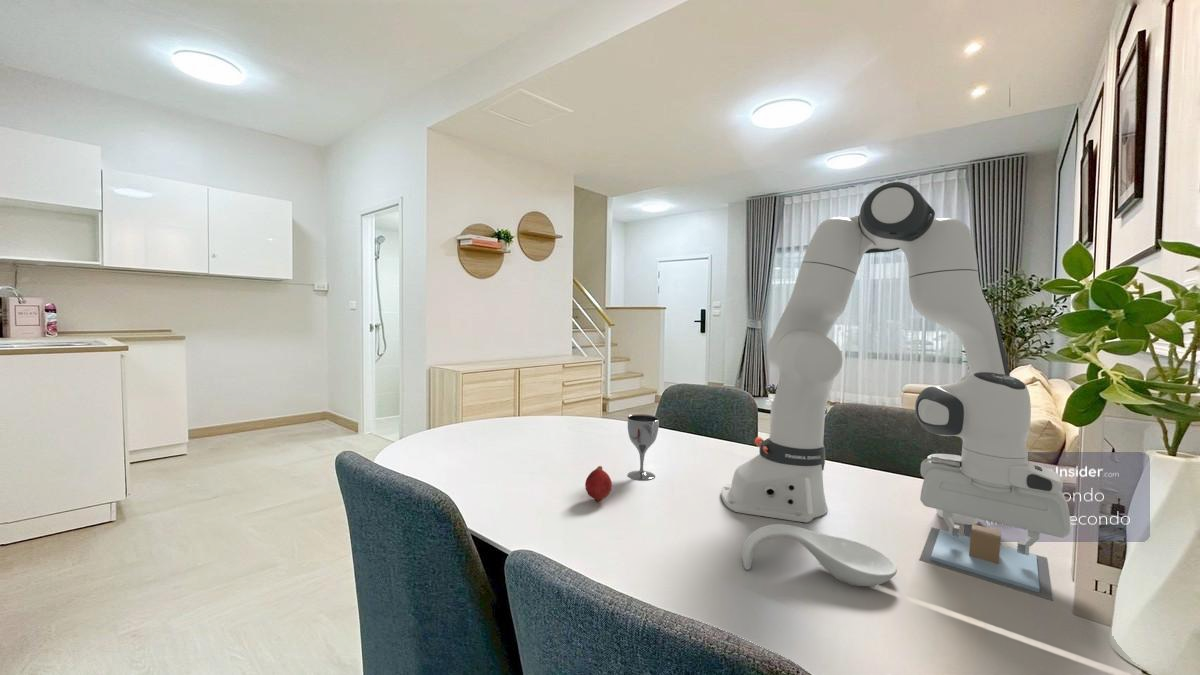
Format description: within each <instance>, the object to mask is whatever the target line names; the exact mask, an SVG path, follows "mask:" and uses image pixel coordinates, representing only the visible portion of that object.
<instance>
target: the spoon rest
mask: <svg viewBox="0 0 1200 675" xmlns="http://www.w3.org/2000/svg"><path fill="white" fill-rule="evenodd" d="M782 537H783V538H789V539H791V540H795V541H796V542H798V543H799V544H801V545H802V546H803V547H805V549H807V551H809V553H810V554H812V556H813V557H814V558H815V559H816V560H817V561H818V562H819V563H820V565H821V566H822V567H824V569H825V570H826V571H827V572H829V573H830V575H831V576H833V578H835V579H836V578H837V580H838V579H839V580H838V581H840V580H841V581H840V582H842V581H844V582H846V583H845V584H847V583H849V584H848V585H850V584H853V585H852V586H855V585H859V586H858V587H874V586H878V585H882V584H885V583H887V582H888V581H890V580H891V579H893V578H894V577H895V576H896V574H897V572H898V568H897V565H896V563H894V561H893V560H892V559H891V558H890V557H889V556H887V555H886V554H884V553H883V552H882V551H880V550H878V549H876V548H874V547H871V546H869V545H867V544H864V543H861V542H858V541H855V540H852V539H848V538H844V537H839V536H836V535H835V536H834V535H830V534H825V533H822V532H818V531H814V530H810V529H808V528H803V527H800V526H797V525H796V526H795V525H791V524H784V523H777V524H776V523H774V524H768V525H765V526H761V527H758V528H757V529H755V530H754V531H752V532H751V533H750V534H749V535H748V536H747V538H746V539H745V541H744V543H743V546H742V549H741V556H740V557H741V560H742V564H743V567H744V569H745V570H747V571H749V570H750V569H751V568H752V564H753V563H752V562H753V559H754V558H753V557H754V554H755V551H756V549H758V546H759V545H760V544H761V543H763V542H765V541H767V540H770V539H773V538H782ZM844 582H843V583H844Z"/></svg>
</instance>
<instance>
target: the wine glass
mask: <svg viewBox="0 0 1200 675" xmlns="http://www.w3.org/2000/svg"><path fill="white" fill-rule="evenodd" d="M659 425H660V419H659V417H658V416H656V415H651V414H644V413H641V414H640V413H639V414H630V415H628V416H627V433H628V438H629V440H630V442H631V443H632V445H634V447H635V448H636V449H637V452H638V454H639V462H640V463H639V467H640V468H639V469H638V470H632V471H630V472H627V477H628V478H630V479H632V480H636V481H640V482H641V481H644V482H645V481H646V482H647V481H651V480H654V479H655V478H656V474H654V473H653V472H651V471H647V470H644V462H645V461H644V460H645V456H646V453H647V451H648V449H649V448H651V446H652V445H653V444H654V443H655V441H656V440H657V438H658V434H659V427H660V426H659Z"/></svg>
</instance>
